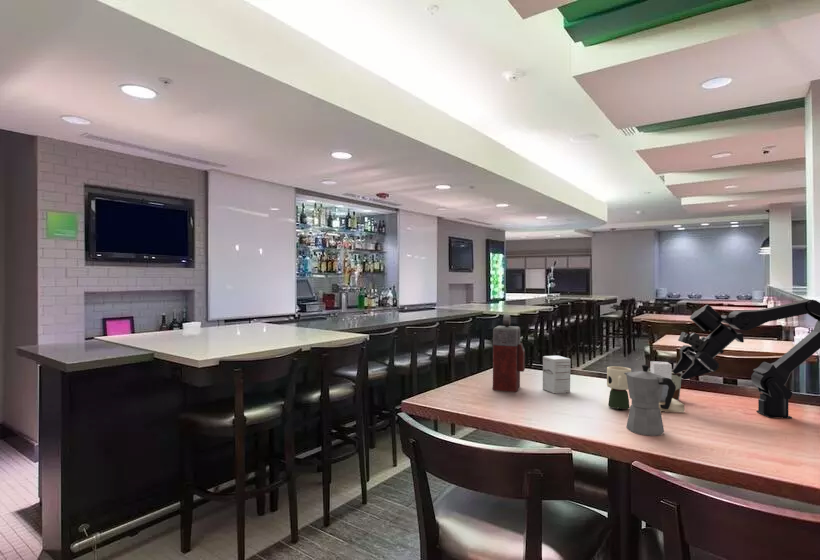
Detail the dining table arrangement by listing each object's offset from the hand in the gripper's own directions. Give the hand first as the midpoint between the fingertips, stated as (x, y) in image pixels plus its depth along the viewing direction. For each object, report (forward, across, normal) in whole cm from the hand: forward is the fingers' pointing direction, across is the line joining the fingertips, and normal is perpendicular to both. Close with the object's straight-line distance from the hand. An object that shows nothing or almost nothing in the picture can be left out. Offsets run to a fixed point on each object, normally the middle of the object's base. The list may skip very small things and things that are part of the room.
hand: (677, 375), depth 147 cm
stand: (+11, 0, +4) cm, 12 cm away
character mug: (+21, +5, -6) cm, 22 cm away
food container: (+9, -15, +7) cm, 18 cm away
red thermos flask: (+45, -12, -31) cm, 56 cm away
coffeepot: (+18, +28, -3) cm, 33 cm away
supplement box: (+33, -14, -19) cm, 41 cm away
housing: (+9, 0, +2) cm, 10 cm away
